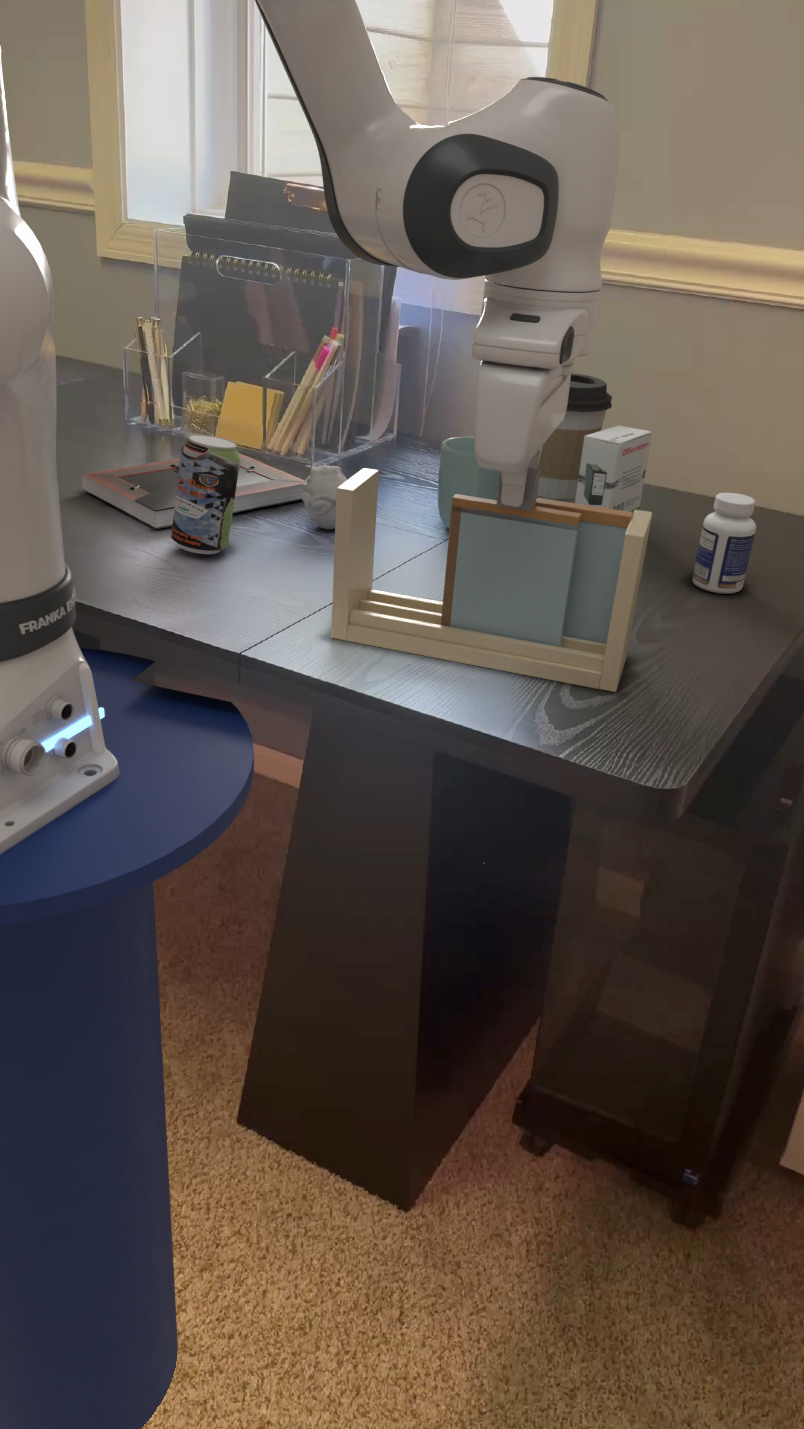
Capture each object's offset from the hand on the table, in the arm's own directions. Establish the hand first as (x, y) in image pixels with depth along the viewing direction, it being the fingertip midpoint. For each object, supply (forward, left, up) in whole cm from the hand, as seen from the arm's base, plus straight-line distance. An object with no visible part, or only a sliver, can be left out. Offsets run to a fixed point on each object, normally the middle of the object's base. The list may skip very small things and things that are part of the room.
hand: (516, 498), depth 90 cm
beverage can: (+13, +35, -15) cm, 40 cm away
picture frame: (+29, +44, -15) cm, 55 cm away
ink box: (+41, -4, -15) cm, 44 cm away
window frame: (+1, +2, -15) cm, 15 cm away
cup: (+33, +11, -15) cm, 38 cm away
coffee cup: (+51, +4, -15) cm, 53 cm away
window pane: (0, 0, -13) cm, 13 cm away
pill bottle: (+28, -18, -15) cm, 37 cm away
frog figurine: (+26, +26, -15) cm, 40 cm away
